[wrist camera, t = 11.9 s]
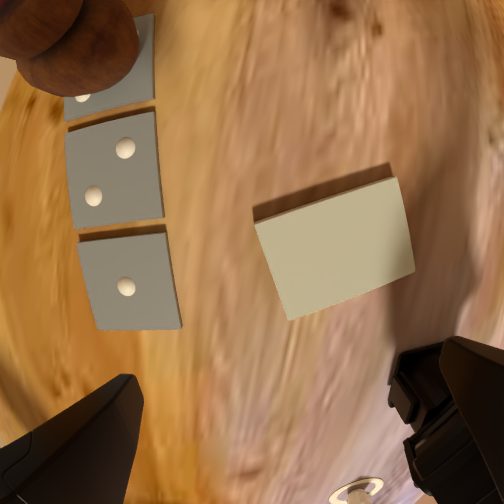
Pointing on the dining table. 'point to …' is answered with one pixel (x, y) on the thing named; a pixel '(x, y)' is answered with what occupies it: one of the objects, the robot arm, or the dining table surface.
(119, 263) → the pad
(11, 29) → the wooden figurine
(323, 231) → the folded napkin
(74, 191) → the pad
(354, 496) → the teacup and saucer
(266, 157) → the dining table surface
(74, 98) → the pad
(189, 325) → the dining table surface
